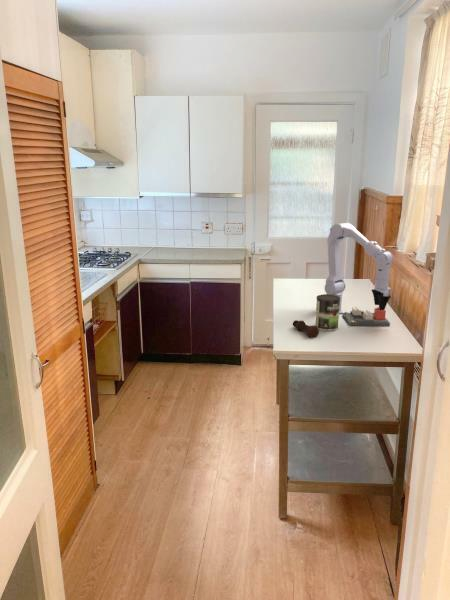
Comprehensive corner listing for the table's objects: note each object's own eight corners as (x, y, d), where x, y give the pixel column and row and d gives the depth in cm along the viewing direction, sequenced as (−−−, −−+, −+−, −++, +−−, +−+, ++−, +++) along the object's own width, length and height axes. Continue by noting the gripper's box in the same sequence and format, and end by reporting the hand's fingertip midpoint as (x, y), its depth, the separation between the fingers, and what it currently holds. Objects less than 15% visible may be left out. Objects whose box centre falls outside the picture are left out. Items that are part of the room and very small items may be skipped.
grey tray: (349, 325, 219) (350, 320, 218) (342, 315, 233) (342, 310, 232) (389, 326, 218) (390, 320, 218) (379, 315, 233) (380, 311, 232)
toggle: (354, 316, 226) (355, 309, 225) (351, 313, 231) (352, 306, 230) (360, 316, 226) (361, 309, 225) (358, 313, 231) (358, 306, 230)
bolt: (296, 331, 218) (315, 340, 204) (288, 326, 216) (306, 336, 202) (302, 319, 218) (321, 328, 204) (294, 315, 216) (312, 324, 202)
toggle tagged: (365, 320, 220) (366, 313, 219) (362, 317, 225) (363, 310, 224) (372, 320, 220) (372, 313, 219) (369, 317, 225) (369, 310, 224)
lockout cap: (376, 321, 220) (377, 309, 219) (373, 318, 224) (374, 306, 223) (384, 321, 220) (385, 309, 219) (382, 318, 224) (383, 306, 223)
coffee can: (343, 328, 215) (345, 298, 211) (324, 332, 210) (326, 301, 206) (328, 322, 224) (329, 293, 220) (310, 325, 219) (311, 295, 215)
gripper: (396, 282, 210) (393, 312, 214) (386, 274, 224) (383, 302, 228) (380, 282, 210) (377, 311, 214) (371, 274, 224) (368, 302, 228)
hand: (379, 307), depth 221 cm, fingers open, 7 cm apart
